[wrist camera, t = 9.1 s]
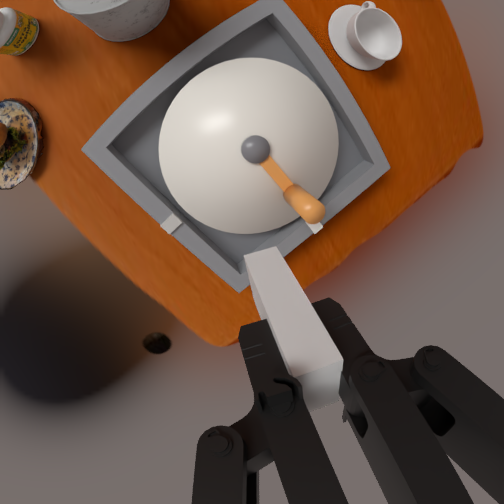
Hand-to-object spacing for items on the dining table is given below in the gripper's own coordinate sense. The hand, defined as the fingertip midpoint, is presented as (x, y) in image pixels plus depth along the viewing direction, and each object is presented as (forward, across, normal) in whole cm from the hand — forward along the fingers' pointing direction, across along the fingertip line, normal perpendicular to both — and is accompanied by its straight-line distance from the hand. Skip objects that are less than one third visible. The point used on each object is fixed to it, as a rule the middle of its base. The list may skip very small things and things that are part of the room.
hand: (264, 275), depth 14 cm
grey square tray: (+24, +4, +1) cm, 24 cm away
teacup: (+24, +22, +14) cm, 36 cm away
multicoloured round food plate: (+24, -25, +12) cm, 37 cm away
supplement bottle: (+24, -19, +25) cm, 39 cm away
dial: (+21, +5, +1) cm, 22 cm away
